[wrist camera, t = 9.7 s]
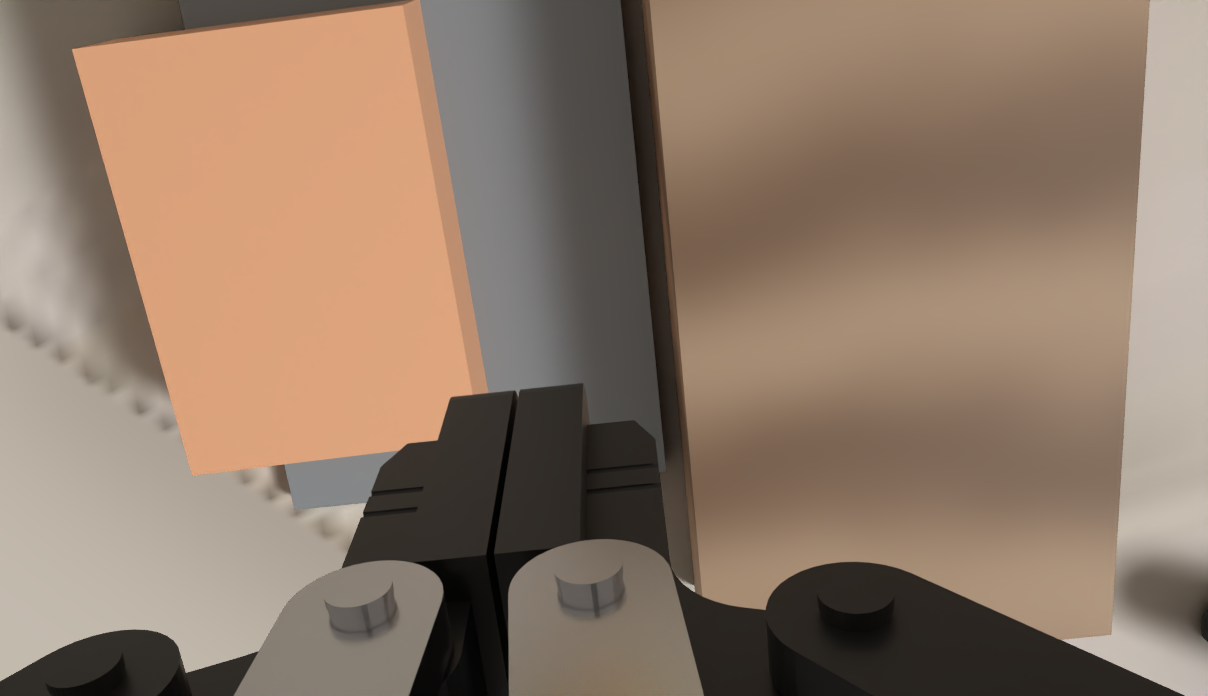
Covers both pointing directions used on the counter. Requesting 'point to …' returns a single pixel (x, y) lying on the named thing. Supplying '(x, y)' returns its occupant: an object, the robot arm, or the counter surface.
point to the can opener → (1205, 626)
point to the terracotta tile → (290, 231)
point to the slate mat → (525, 204)
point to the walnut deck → (902, 289)
